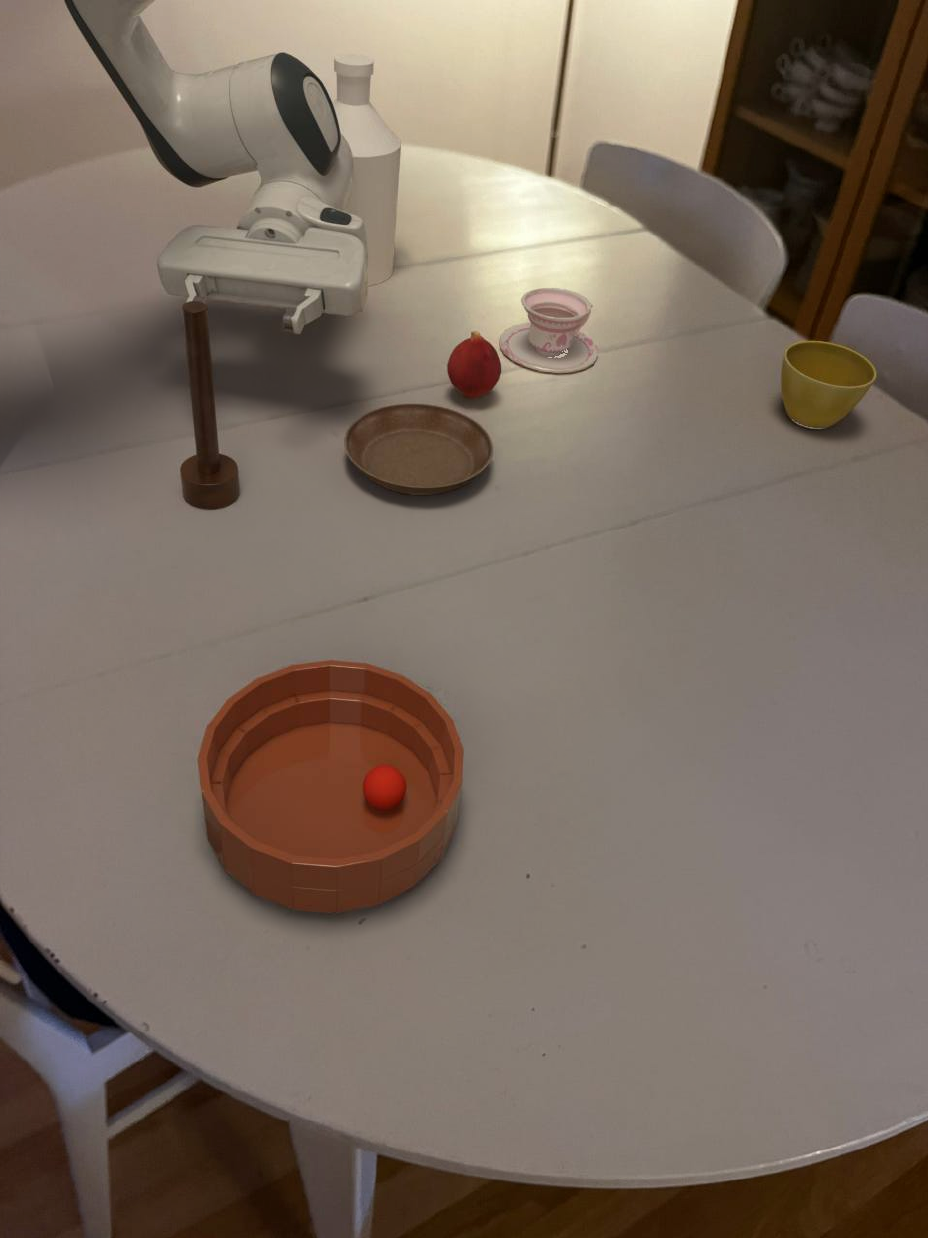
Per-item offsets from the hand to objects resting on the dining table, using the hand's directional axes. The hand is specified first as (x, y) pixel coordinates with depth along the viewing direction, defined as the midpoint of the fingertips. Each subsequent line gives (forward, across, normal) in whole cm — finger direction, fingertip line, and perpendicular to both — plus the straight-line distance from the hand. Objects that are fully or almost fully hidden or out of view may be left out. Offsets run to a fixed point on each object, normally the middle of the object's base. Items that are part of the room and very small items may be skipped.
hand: (241, 321), depth 95 cm
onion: (-12, +20, +17) cm, 29 cm away
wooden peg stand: (+12, -1, +11) cm, 16 cm away
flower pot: (-20, +58, +20) cm, 65 cm away
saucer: (+2, +17, +14) cm, 22 cm away
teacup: (-26, +27, +20) cm, 42 cm away
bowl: (+44, +20, +6) cm, 49 cm away
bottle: (-40, -1, +21) cm, 45 cm away
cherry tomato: (+43, +23, +4) cm, 49 cm away
